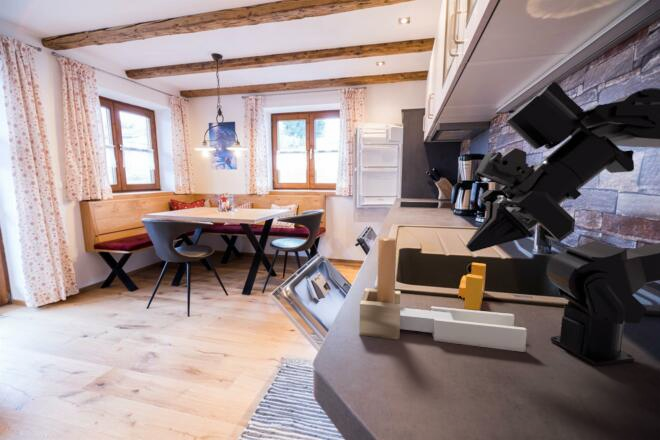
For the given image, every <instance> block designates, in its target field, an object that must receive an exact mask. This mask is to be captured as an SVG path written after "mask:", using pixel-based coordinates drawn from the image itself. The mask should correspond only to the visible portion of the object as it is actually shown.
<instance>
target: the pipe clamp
mask: <svg viewBox="0 0 660 440" xmlns="http://www.w3.org/2000/svg"><path fill="white" fill-rule="evenodd" d="M486 269H487V264H486V263H479V262H472V264H471V271H470V273H467V274H466V275H463V276H462V277H461V279H460V284H459V287H458V297H459V296H461V297H462V298H461V299H463V298H465V299H464V309H465V310H475V311H481V308H482V304H483V300H482V299H483V298H484V295H483V292H484V293H485V287H486V286H485V285H486Z"/></svg>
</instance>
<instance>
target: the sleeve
mask: <svg viewBox="0 0 660 440" xmlns="http://www.w3.org/2000/svg"><path fill="white" fill-rule="evenodd" d="M430 311H439V312H449V313H451V315H452V318H453V320H447V319H437V318H434V333H431V334H432V337H433V338H432V339H433V341H435V342H440V343H448V344H449V343H450V344H457V345H465V346H472V347H473V346H475V347H483V348H490V349H497V350H507V351H515V352H523V353H525V352H526V345H527V344H526V343H527V333H528V330H527V328H526V327H522V326H521V327H520V326H515V324H514V323H515V315H514V313H506V312H505V313H504V312H495V311H483V310H480V311H475V310H467V309H463V308H453V307H445V306H444V307H441V306H433V305H432V306H431V307H430Z"/></svg>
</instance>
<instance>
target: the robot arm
mask: <svg viewBox="0 0 660 440" xmlns="http://www.w3.org/2000/svg"><path fill="white" fill-rule="evenodd" d="M505 123H506V124H507V125H508V126H509V127H510V128H511V129H512V130H513V131H515V132H516V133H517V134H518V135H519V136H520V138H522V139H523V140H524V141H525V142H526V143H527V144H528V145H529V146H530V147H532V149H534V150H538V149H540V148H542V147H544V148H546V150H551V149H553V148H555V147H556V146H558V145H560V146H558V147H557V148H556V149H555V150H554V151H552V152H551V153H550V154H549V155H547V156H546V157H545V158H544V159H543V160H542V161H541V162H539V163H538V164H529V163H527V152H526V151H524V150H522V149H520V148H517V147H516V148H511V149H510V150H508V151H507V152H505V153H504V154H502V152H501V151H498V152H495V151H491V152H489V153H486V154H485V155H484V157H483V159H482V160H481V162H480V164H479V166H478V167H477V169H476V171H475V173H474V175H475V176H477V177H479V178H482V179H484V178H485V179H488V180H489V181H492V182H495V183H496V184H499V185H501V187H500V188H499V189H500V190H498V189H497V190H495V189H490V190H489V189H488V190H485V192H483V193H482V194H481V195H480V196H479V197H478V199H479V200H480V202H481V203H483V205H484V206H486V208H485V209H486V210H485V211H486V215H485V218H484V219H483V221H482V222H481V224H480V225H479V226H478V228H477V229H476V231H475V232H474V234H473V235H472V237H470V239H469V241H468V242H467V244H466V245H465V246H466V249H468V251H470V252H471V253H473V252H474V253H475V252H478V251H481V250H485V249H488V248H493V247H495V246H499V245H503V244H506V243H510V242H514V241H518V240H522V239H526V238H528V239H531V238H533V237H534V234H533V233H532V232H531V231H532V230H533V229H534V228H536V227H537V225H538V226H541V227H542V228H543V229H545V230H546V231H545V233H544V236H545V238H546V239H548V240H551V241H554V242H557V243H561V242H562V241H563V240H565V239H566V238H568V237H569V236H570V235H571V234H573V233H574V232H575V226H576V219H575V218H573V216H572V215H571V214H570V213H569V212H568V211H566V209H564V207H563V206H562V205H561V204H562V203H564V202H565V201H566V200H572V201H573V200H574V201H575V200H576V199H577V198H579V197H580V196H582V194H583V193H581V192H580V191H579V190H580V189H582V188H583V187H584V186H585V185H587V184H588V183H589V182H591V181H592V180H593V179H594V178H596V177H597V176H598V175H599V174H600V173H602V172H603V171H605V170H607V171H608V172H609V173H610V174H615V173H629V172H633V171H634V170H635V162H634V158H633V157H634V153H635V152H634V150H632V149H631V150H630V149H629V150H623V149H621V148H619V146H620V147H631V148H660V87H648V88H644V89H639V90H637V91H636V92H632V93H630V94H627V95H625V96H622V97H620V98H617V99H616V100H613V101H611V102H608V103H603V104H597V105H595V106H592V107H590V108H587V109H585V110H584V109H583V108H582V107H581V106H580V105H579V104H578V103H576V102H575V101H574V100H573V99H572V98H571V97H570V96H569V95H568V94H567V93H566V92H565V91H564V89H563V88H562V87H561V86H560V85H559V84H558V83H557V82H556V81H552V82H551V83H549V84H548V85H547V86H545V87H544V88H543V89H542V90H541V91H540V92H538V93H537V94H536V95H535V96H533V97H532V98H531V99H530V100H528V101H527V102H526V103H524V104H522V105H521V106H519V107H518V108H517V110H515V111H514V112H513V113H512V114H511V115H509V117H508V118H507V119H506V120H505ZM563 250H564V251H561V252H559V253H556V254H554V255H552V257H551V259H550V260H549V262H548V263H547V267H546V276H547V277H548V280H549V281H550V282H551V283H552V284H553V285H554V286H555V287H556V289H557V293H558V295H559V296H560V297H562V298H564V299H566V300H567V303H566V304H564V305H563V306H564V307H563V316H561V325H560V335H554V336H550V341H552V343H555V344H557V345H558V346H560V347H562V348H563V349H566V350H567V351H569V352H571V353H572V354H574V355H576V356H578V357H579V358H581V359H583V360H585V361H586V362H588V363H590V364H592V365H595V366H605V365H612V364H619V363H620V364H621V363H626V362H627V363H629V362H634V361H635V356H634V355H633V354H630V353H628V352H626V351H624V350H622V344H623V337H624V329H625V324H627V323H628V324H639V323H640V321H641V320H642V318H643V317H644V315H645V313H646V312H647V307H646V306H645V305H643V303H642V302H641V301H640V300H638V299H637V297H635V296H634V294H636V293H637V292H638V291H639V290H641V289H642V288H643V287H644V286H646V285H647V284H651V283H654V282H660V242H658V243H651V244H648V245H643V246H637V247H633V248H629V249H626V248H622V247H620V246H616V245H611V244H608V243H604V242H601V241H598V240H595V241H590V242H587V243H585V244H582V245H578V246H563Z"/></svg>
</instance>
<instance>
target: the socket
mask: <svg viewBox="0 0 660 440" xmlns="http://www.w3.org/2000/svg"><path fill="white" fill-rule="evenodd" d="M400 308H401V290H395V304H394V303H384V302H377V288H372V287H371V288H370V287H365V288H364V291H363V294H362V297H361V299H360V303H359V326H358V327H359V333H358V334H359V336H364V337H365V336H366V337H373V338H382V339H388V340H389V339H390V340H396V341H399V340H400V333H401V332H400V331H401V329H400Z"/></svg>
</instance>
